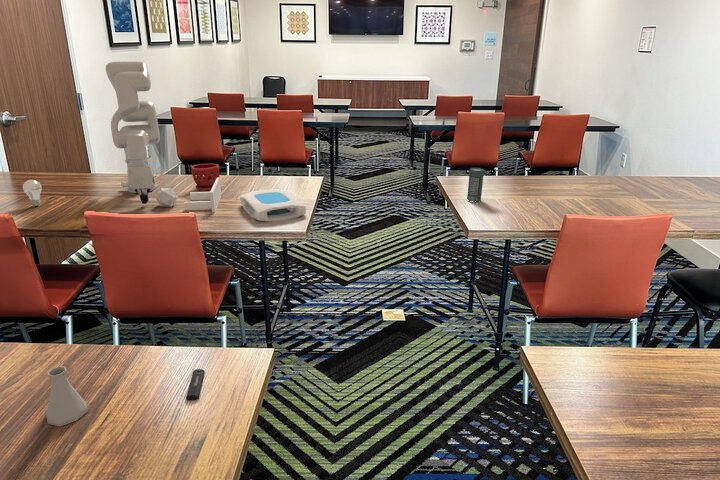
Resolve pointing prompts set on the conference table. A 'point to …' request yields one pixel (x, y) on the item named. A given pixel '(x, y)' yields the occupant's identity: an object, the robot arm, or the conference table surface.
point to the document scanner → (272, 204)
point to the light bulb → (33, 191)
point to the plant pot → (205, 176)
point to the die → (166, 197)
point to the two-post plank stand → (205, 198)
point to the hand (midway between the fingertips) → (145, 202)
